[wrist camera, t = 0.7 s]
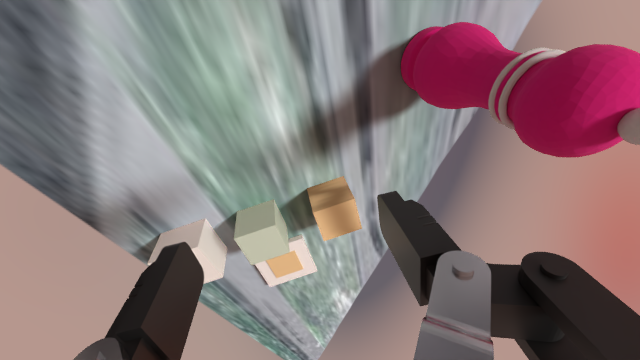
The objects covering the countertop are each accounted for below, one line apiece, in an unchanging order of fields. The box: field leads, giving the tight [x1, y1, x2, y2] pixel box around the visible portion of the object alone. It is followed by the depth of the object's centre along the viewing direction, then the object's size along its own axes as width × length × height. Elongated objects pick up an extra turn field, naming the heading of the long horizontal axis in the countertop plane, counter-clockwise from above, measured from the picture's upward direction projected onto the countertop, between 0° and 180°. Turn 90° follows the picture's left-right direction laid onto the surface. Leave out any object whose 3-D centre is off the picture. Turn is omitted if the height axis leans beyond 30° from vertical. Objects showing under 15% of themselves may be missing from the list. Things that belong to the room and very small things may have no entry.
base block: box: [147, 218, 227, 284], centre depth 33 cm, size 6×6×5 cm
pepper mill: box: [401, 22, 640, 157], centre depth 20 cm, size 7×7×20 cm
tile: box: [255, 235, 317, 287], centre depth 40 cm, size 8×8×1 cm
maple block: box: [307, 176, 362, 241], centre depth 33 cm, size 5×5×5 cm
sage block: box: [234, 199, 290, 265], centre depth 33 cm, size 5×5×5 cm
